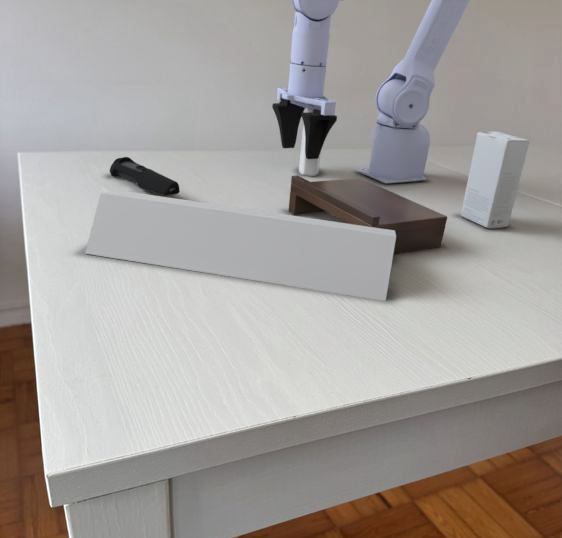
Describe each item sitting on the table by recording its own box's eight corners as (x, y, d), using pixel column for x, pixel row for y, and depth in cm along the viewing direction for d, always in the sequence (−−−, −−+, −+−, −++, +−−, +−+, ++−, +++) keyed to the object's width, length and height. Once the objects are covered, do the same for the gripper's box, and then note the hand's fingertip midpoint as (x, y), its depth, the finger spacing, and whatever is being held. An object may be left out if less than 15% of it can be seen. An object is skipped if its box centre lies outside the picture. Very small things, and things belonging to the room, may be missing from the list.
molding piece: (376, 327, 72) (389, 249, 74) (385, 301, 61) (400, 210, 62) (122, 285, 76) (139, 212, 77) (85, 253, 64) (107, 168, 66)
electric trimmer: (162, 205, 82) (162, 182, 80) (107, 176, 91) (106, 154, 89) (185, 202, 84) (186, 179, 82) (129, 173, 93) (129, 152, 92)
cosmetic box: (509, 227, 86) (534, 140, 79) (485, 229, 84) (509, 140, 78) (479, 213, 90) (501, 130, 84) (456, 215, 88) (477, 130, 82)
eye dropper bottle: (326, 171, 105) (335, 98, 99) (312, 177, 100) (320, 101, 94) (304, 167, 106) (312, 94, 100) (289, 172, 102) (296, 97, 96)
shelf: (356, 204, 89) (361, 170, 86) (440, 246, 76) (449, 208, 73) (288, 211, 83) (291, 175, 81) (366, 258, 70) (373, 217, 68)
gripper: (263, 57, 97) (258, 144, 104) (312, 69, 87) (302, 164, 93) (300, 59, 100) (292, 142, 107) (351, 71, 90) (339, 162, 97)
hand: (299, 153), depth 101 cm, fingers open, 7 cm apart
